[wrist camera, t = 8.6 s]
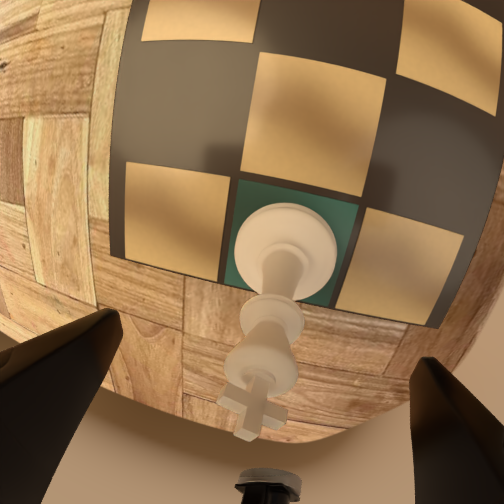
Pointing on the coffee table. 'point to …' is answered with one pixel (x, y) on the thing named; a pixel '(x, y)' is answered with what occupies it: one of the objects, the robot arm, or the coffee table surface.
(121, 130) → the game board
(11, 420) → the robot arm
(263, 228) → the chess piece
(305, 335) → the coffee table surface
